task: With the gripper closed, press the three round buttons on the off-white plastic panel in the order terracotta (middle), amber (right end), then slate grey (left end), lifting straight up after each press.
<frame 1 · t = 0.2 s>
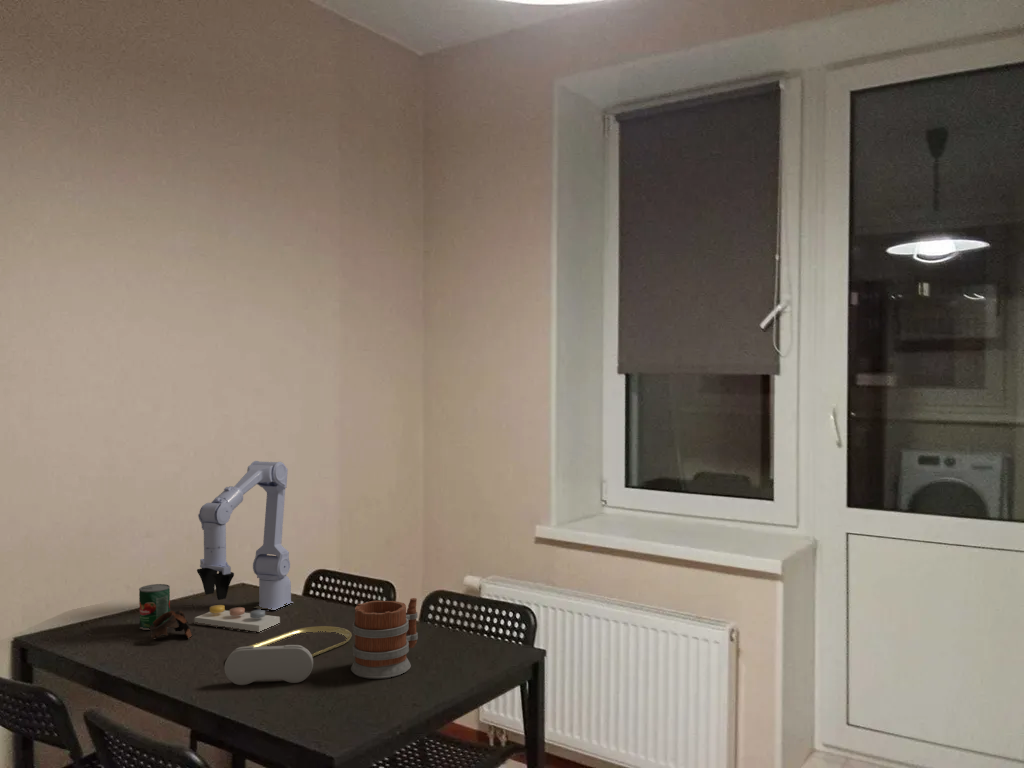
hand: (215, 596, 231), 9 cm above the table, tool pointing down, fingers open, 7 cm apart
canned tomato: (154, 627, 235), on the table
u-shaped metal loop: (292, 652, 215), on the table
button terracotta: (237, 611, 237), point 4 cm above the table, slide at 0.0 cm
game controller: (269, 683, 192), on the table
button slate: (257, 613, 234), point 4 cm above the table, slide at 0.0 cm
button amber: (217, 609, 239), point 4 cm above the table, slide at 0.0 cm
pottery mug: (173, 638, 225), on the table
mug: (388, 666, 202), on the table
button panel: (237, 624, 237), on the table
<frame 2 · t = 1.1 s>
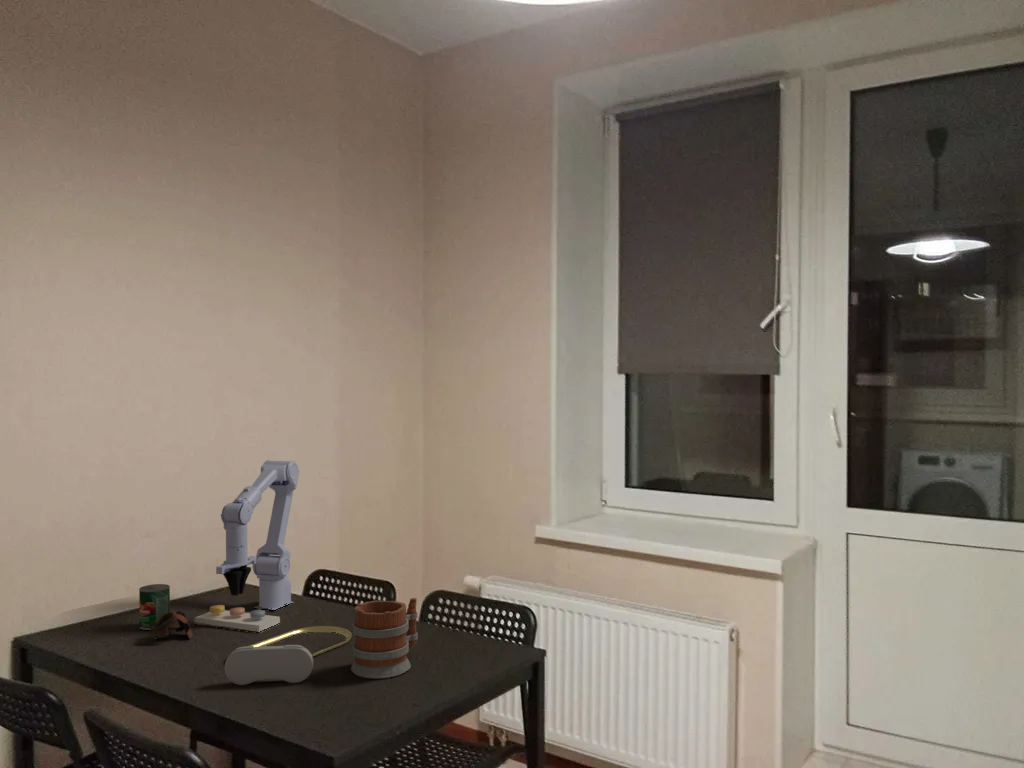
hand: (237, 594, 237), 8 cm above the table, tool pointing down, fingers closed
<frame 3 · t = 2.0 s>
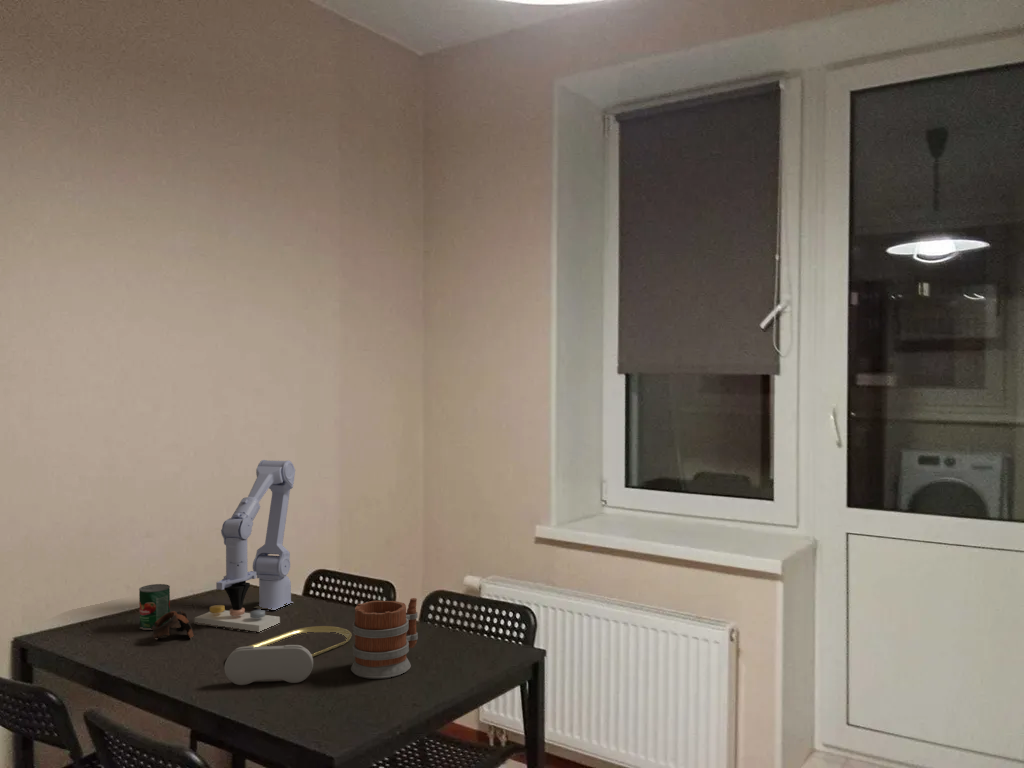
hand: (237, 609, 237), 4 cm above the table, tool pointing down, fingers closed, pressing on button terracotta
button terracotta: (237, 611, 237), point 4 cm above the table, slide at 0.0 cm, touching gripper
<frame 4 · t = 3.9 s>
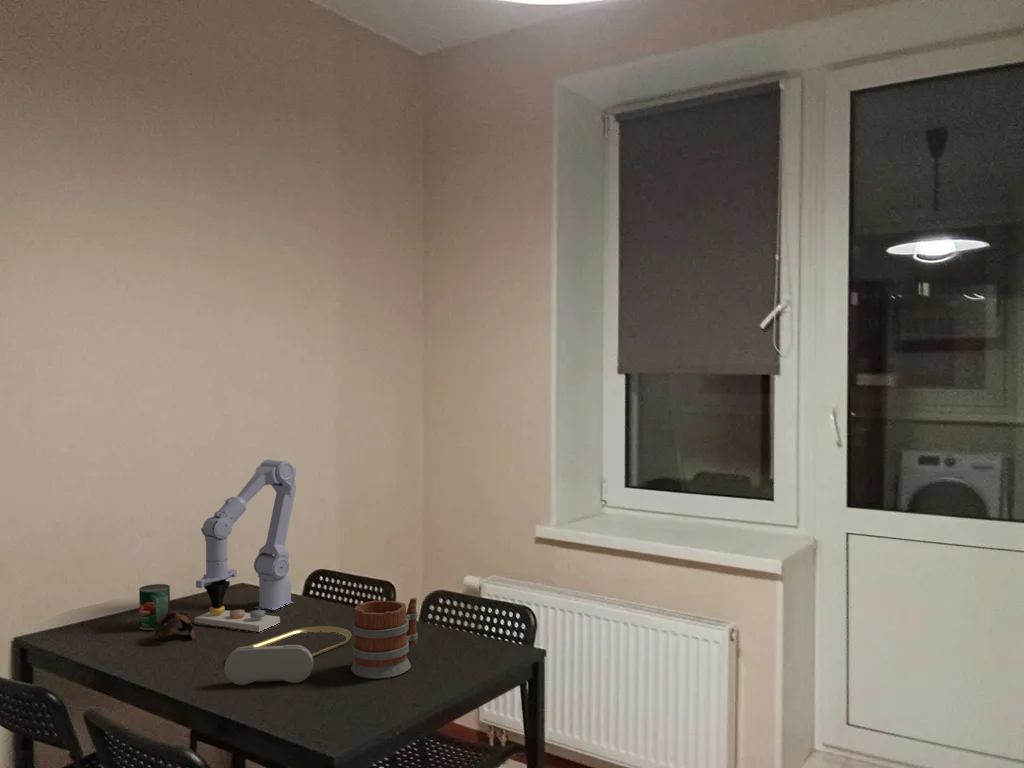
hand: (217, 607, 239), 4 cm above the table, tool pointing down, fingers closed, pressing on button amber
button terracotta: (237, 613, 237), point 3 cm above the table, slide at 0.6 cm
button amber: (217, 609, 239), point 3 cm above the table, slide at 0.2 cm, touching gripper
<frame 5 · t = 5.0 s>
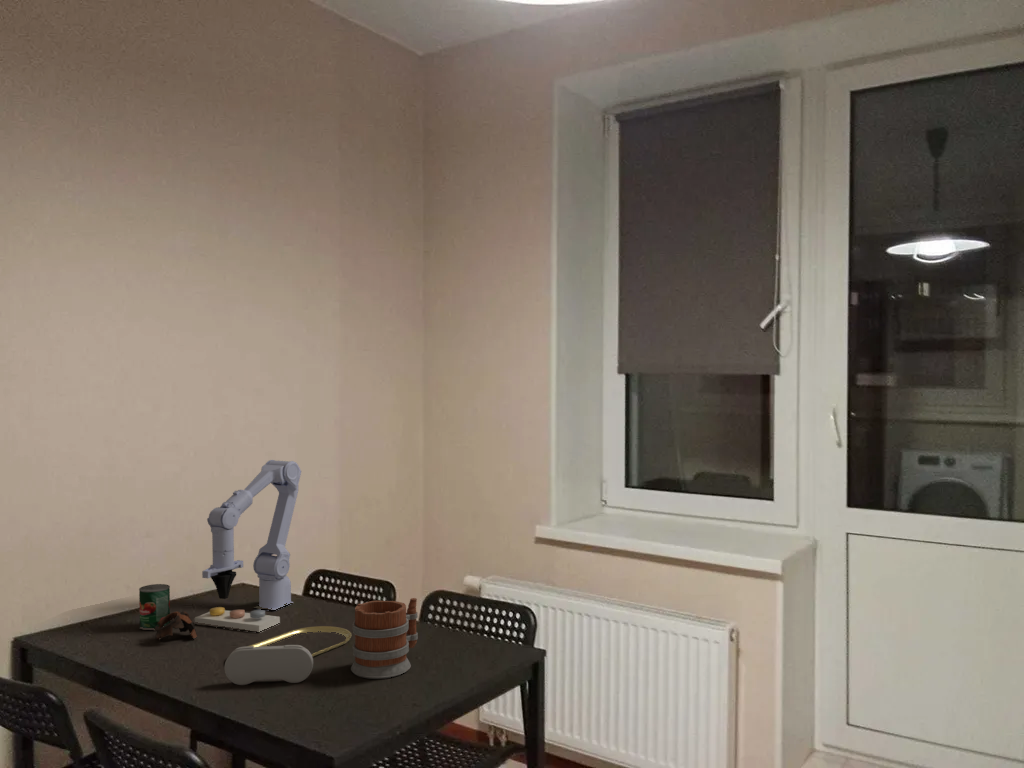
hand: (223, 598, 239), 7 cm above the table, tool pointing down, fingers closed
button amber: (217, 611, 239), point 3 cm above the table, slide at 0.6 cm
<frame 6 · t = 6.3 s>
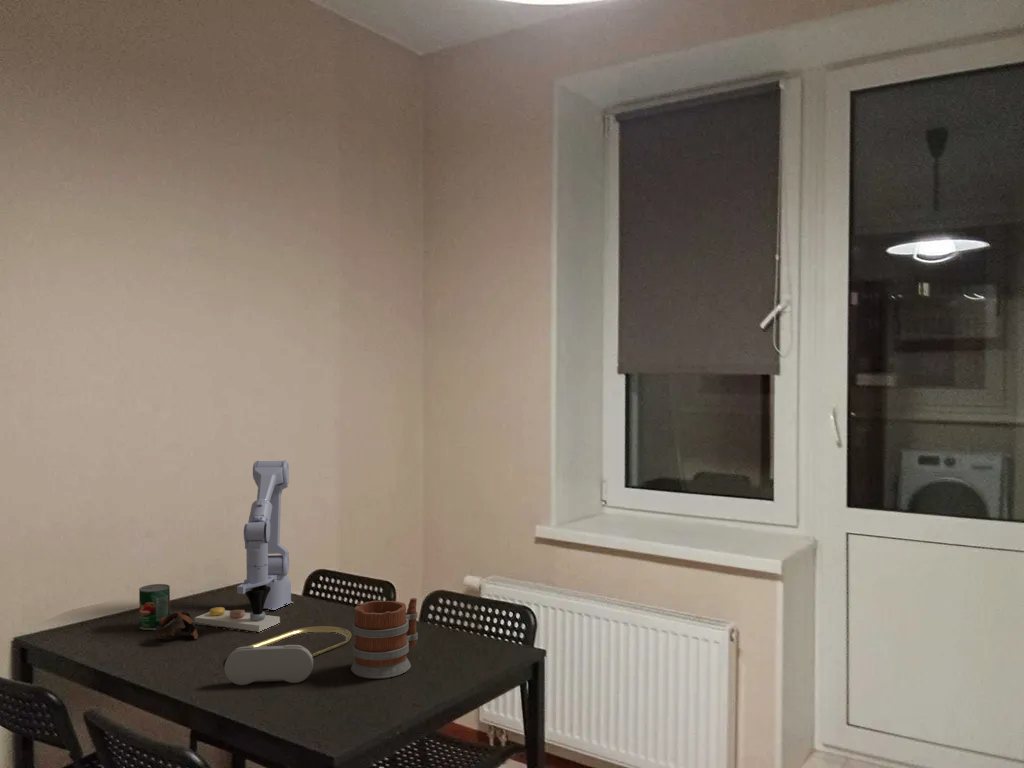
hand: (257, 613, 234), 4 cm above the table, tool pointing down, fingers closed, pressing on button slate
button slate: (257, 615, 234), point 3 cm above the table, slide at 0.5 cm, touching gripper
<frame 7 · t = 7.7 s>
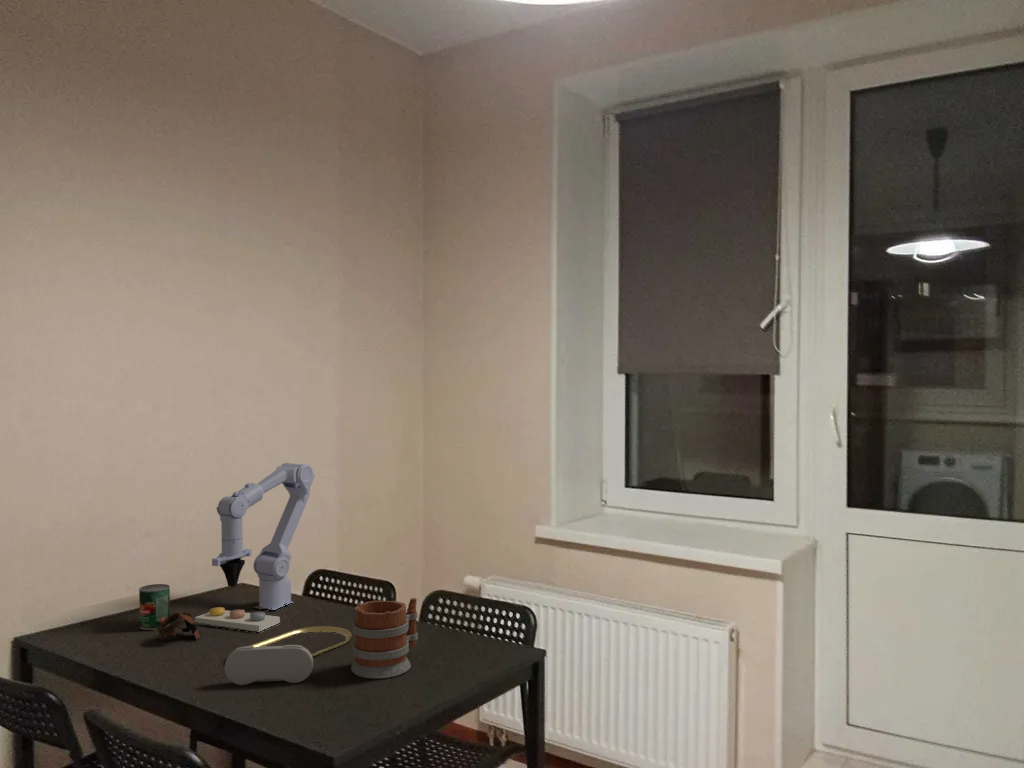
hand: (232, 586, 242), 9 cm above the table, tool pointing down, fingers closed
button slate: (257, 616, 234), point 3 cm above the table, slide at 0.6 cm
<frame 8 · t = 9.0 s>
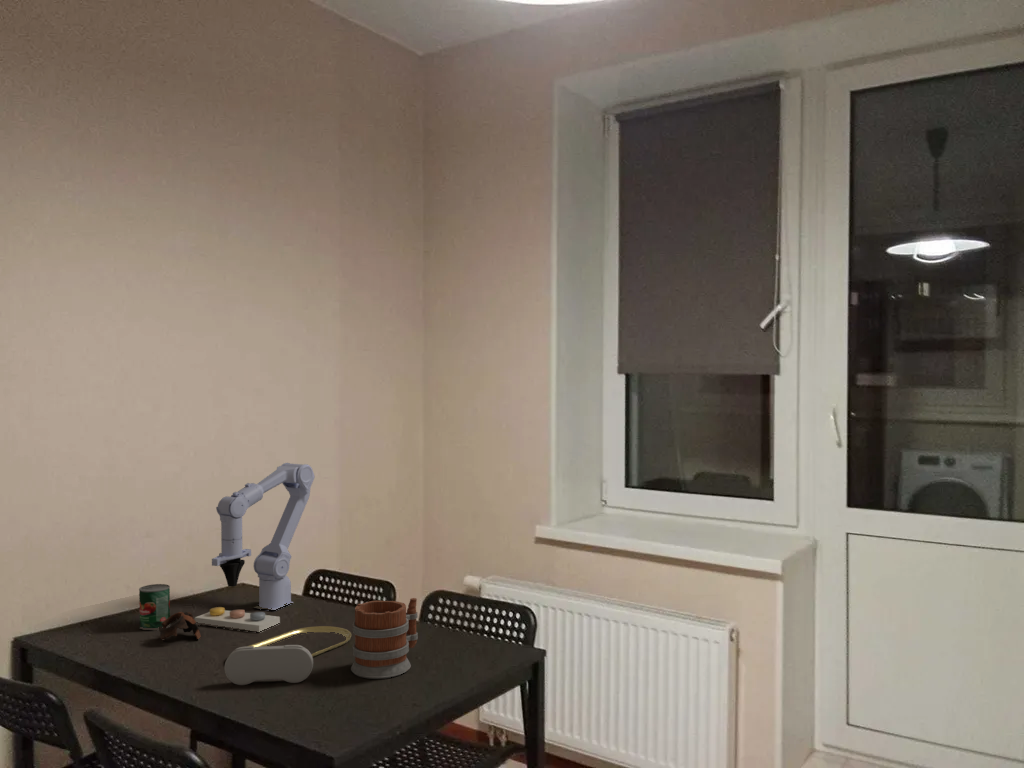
hand: (232, 585, 242), 9 cm above the table, tool pointing down, fingers closed
at the end: button terracotta slide at 0.6 cm; button amber slide at 0.6 cm; button slate slide at 0.6 cm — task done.
